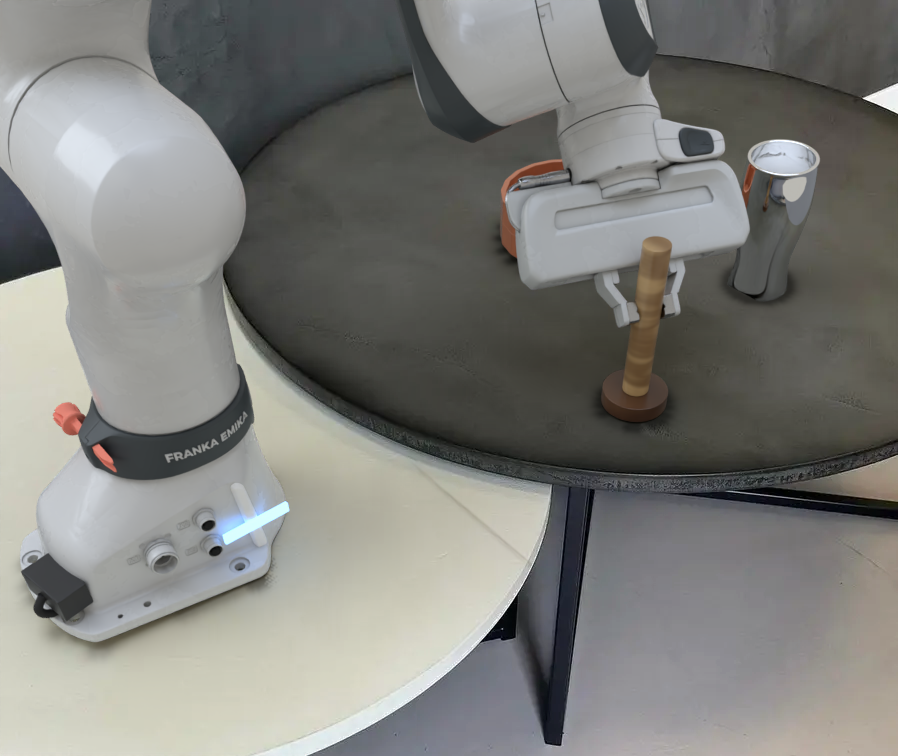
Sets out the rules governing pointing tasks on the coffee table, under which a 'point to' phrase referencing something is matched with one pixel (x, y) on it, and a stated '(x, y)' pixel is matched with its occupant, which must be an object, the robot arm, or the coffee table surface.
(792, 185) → the beer glass
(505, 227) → the bowl
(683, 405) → the coffee table surface
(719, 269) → the coffee table surface
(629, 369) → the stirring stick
